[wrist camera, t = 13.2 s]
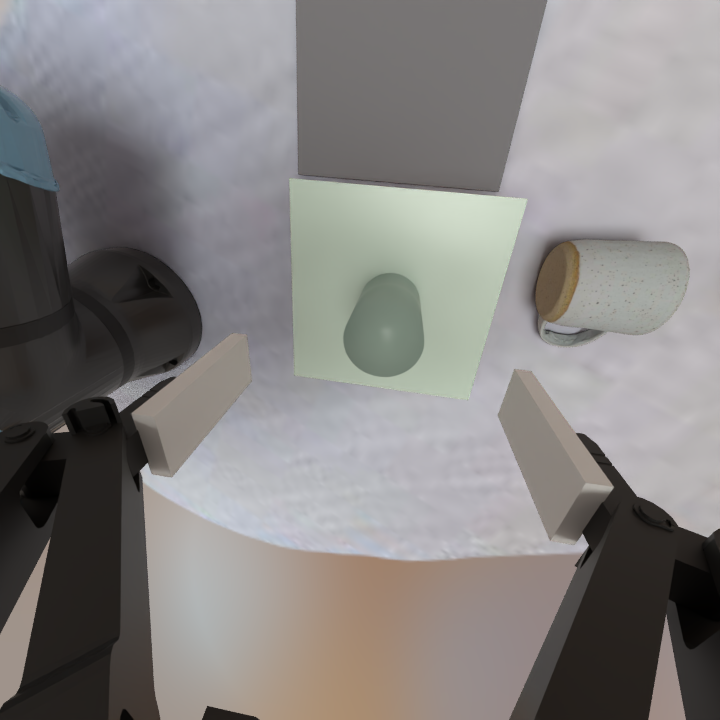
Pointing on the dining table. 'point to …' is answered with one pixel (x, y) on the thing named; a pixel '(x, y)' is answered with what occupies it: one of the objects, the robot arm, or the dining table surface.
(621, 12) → the dining table surface
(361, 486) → the dining table surface
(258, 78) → the dining table surface
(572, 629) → the robot arm
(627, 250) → the ceramic mug
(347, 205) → the lid
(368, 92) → the mat
